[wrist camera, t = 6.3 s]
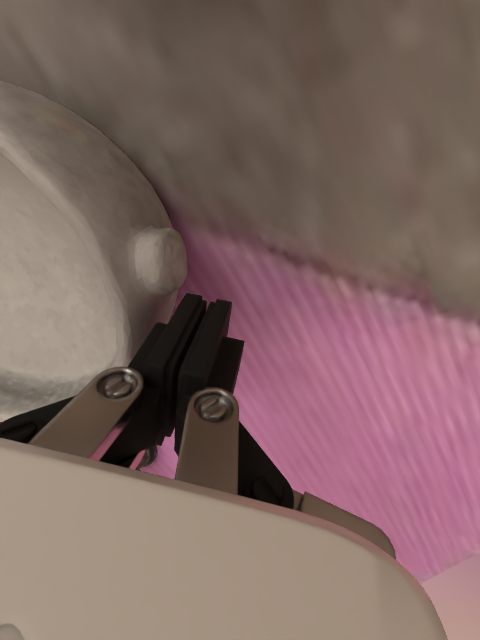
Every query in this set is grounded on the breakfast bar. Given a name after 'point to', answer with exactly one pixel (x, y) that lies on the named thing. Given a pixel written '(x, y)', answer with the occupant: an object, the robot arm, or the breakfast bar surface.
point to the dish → (74, 253)
